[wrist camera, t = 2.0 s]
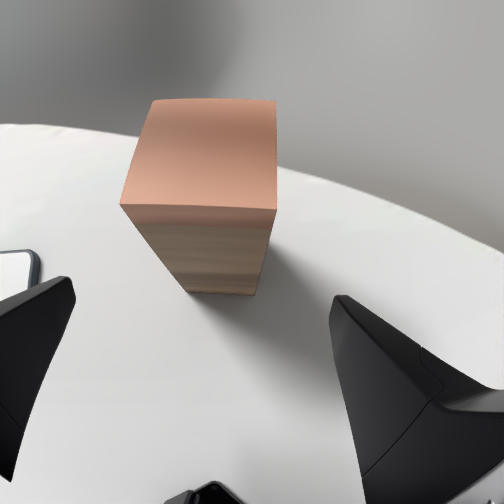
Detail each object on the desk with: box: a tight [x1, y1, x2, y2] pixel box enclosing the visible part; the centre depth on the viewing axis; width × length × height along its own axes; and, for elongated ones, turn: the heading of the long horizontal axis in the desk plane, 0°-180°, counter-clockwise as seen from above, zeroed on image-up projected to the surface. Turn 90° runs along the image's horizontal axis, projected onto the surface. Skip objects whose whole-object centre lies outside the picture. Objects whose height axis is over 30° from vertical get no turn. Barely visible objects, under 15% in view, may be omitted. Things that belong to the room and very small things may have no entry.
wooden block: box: [119, 98, 277, 296], centre depth 16 cm, size 5×5×13 cm
